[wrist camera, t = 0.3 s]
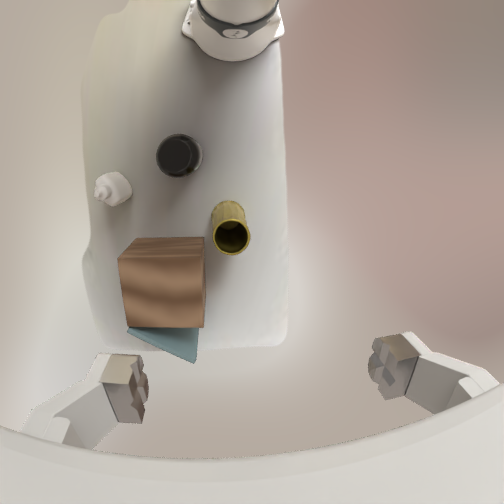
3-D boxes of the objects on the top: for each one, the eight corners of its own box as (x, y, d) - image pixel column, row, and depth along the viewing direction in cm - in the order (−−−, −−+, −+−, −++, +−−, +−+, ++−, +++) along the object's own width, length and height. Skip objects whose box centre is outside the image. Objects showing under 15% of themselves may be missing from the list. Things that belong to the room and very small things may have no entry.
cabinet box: (136, 238, 55) (117, 258, 43) (203, 237, 56) (200, 258, 45) (142, 295, 58) (127, 326, 47) (205, 295, 60) (203, 327, 48)
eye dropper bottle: (112, 202, 52) (87, 215, 41) (108, 173, 50) (82, 178, 39) (133, 199, 53) (112, 210, 41) (130, 169, 51) (107, 173, 39)
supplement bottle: (207, 168, 52) (203, 172, 41) (170, 179, 52) (157, 185, 41) (197, 132, 50) (192, 126, 39) (161, 143, 50) (145, 140, 39)
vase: (226, 239, 57) (228, 266, 43) (204, 215, 55) (200, 234, 41) (251, 219, 56) (262, 239, 43) (230, 193, 54) (234, 206, 41)
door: (142, 299, 58) (128, 328, 47) (198, 327, 61) (196, 359, 51) (138, 306, 58) (124, 336, 48) (194, 334, 62) (191, 367, 51)
